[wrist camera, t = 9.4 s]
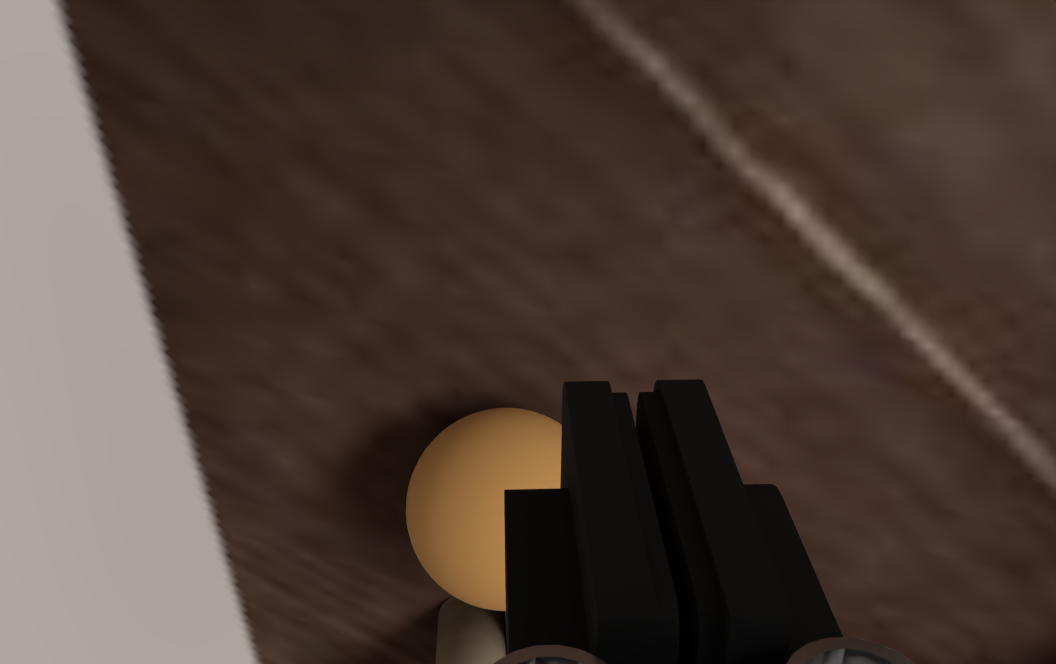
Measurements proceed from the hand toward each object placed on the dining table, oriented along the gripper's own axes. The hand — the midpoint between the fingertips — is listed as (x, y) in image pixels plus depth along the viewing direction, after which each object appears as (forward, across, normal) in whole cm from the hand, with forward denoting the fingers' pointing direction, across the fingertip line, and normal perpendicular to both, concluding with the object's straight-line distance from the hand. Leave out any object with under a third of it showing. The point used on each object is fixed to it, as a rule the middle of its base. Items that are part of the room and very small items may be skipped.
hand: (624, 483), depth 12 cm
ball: (+14, +1, +11) cm, 18 cm away
